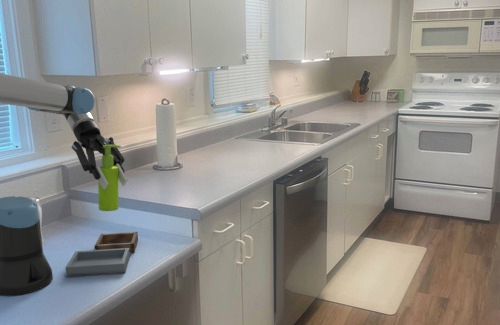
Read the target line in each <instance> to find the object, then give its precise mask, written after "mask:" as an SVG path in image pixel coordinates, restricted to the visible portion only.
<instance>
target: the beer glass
mask: <svg viewBox="0 0 500 325" xmlns="http://www.w3.org/2000/svg"><path fill="white" fill-rule="evenodd" d="M26 198H30V199H32V200H33V201H35V203H36V204H37V207H38V211H39V214H40V217H39V218H40V229H41V230H42V223H43V222H42V220H43V209H42V204H41V198H40V197H39V196H28V197H26ZM41 238H42V243H44V241H45V240H44V237H43V233H42V231H41Z"/></svg>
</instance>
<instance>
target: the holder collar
mask: <svg viewBox="0 0 500 325" xmlns="http://www.w3.org/2000/svg"><path fill="white" fill-rule="evenodd" d="M138 236H139V234H138V231H130V232H129V231H128V232H127V231H126V232H113V233H112V232H111V233H100V235H99V236H98V238H97V240H96V242H95V245H94V250H104V249H120V248H129V252H130V254H134V253H135V252H136V248H137V247H138V246H137V245H138V242H139V237H138Z"/></svg>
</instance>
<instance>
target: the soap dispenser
mask: <svg viewBox="0 0 500 325" xmlns="http://www.w3.org/2000/svg"><path fill="white" fill-rule="evenodd" d="M111 147H117V148H118V149H121V148H122V146H121V145H120V144H119V145H118V144H115V145H103V148H105V155H102V156H101V166H99V167H100V169H101V171H102V173H103V174H104V176H105V178H106V180H107V182H108V185H107V187H106V189H103V188H102V186H101V184H100V183H99V181H98V180H97V184H98V210H99V211H102V212H114V211H118V210H119V179H118V167H116V166H114V156H112V155H111Z"/></svg>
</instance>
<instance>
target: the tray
mask: <svg viewBox="0 0 500 325" xmlns="http://www.w3.org/2000/svg"><path fill="white" fill-rule="evenodd" d="M130 258H131V253H130V252H129V248H120V249H104V250H95V249H92V250H91V249H90V250H76V251H74V252H73V254H72V256H71V258H70V260H69V261H68V262H67V265H66V266H65V273H66V278H76V277H77V278H78V277H92V276H106V275H107V276H108V275H119V274H126V271H127V268H128V264H129V261H130Z"/></svg>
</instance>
